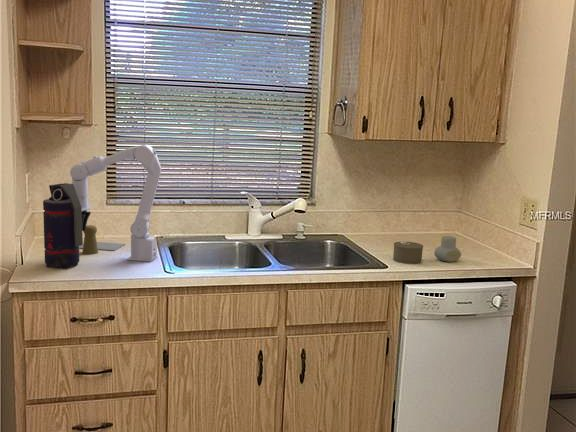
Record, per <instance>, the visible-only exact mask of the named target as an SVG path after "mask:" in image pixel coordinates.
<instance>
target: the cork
mask: <svg viewBox="0 0 576 432" xmlns="http://www.w3.org/2000/svg"><path fill="white" fill-rule="evenodd" d="M97 230H98V228H97V226H95V225H93V224H89V225H87V224H86V229H85V231H82V233H83V234H84V237H83V249H82V254H83V255H96V254H99V250H98V247H97V242H98V241H97V236H96V235H97V234H96V233H97Z"/></svg>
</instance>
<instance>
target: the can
mask: <svg viewBox="0 0 576 432" xmlns="http://www.w3.org/2000/svg"><path fill="white" fill-rule="evenodd" d="M423 248H424V245H423V244H422V243H419V242H412V241H395V242H394V243H393V257H392V261H394V262H397V263H399V264H406V265H418V264H419V265H420V264H421V263H422V258H423Z"/></svg>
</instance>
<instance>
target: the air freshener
mask: <svg viewBox="0 0 576 432" xmlns="http://www.w3.org/2000/svg"><path fill="white" fill-rule="evenodd" d="M440 242H441V243H440V246H437V247H436V248H435V249H434V252H433V254H434V256H435V258H436V259H438V260H440V261H441V262H445V263H454V262H456V261H458V260H459V259H460V258H461V257H462V252H461V250H460V249H458V247H456V246H457V237H455V236H450V235H443V236H442V237H441V241H440Z"/></svg>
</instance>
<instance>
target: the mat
mask: <svg viewBox="0 0 576 432" xmlns="http://www.w3.org/2000/svg"><path fill="white" fill-rule="evenodd" d="M125 245H126V243H122V242H121V243H119V242H103V241H97V247H98V251H107V252H115V251H117V250H119V249H121V248H122V247H124V246H125ZM79 250H83V245H81V246H79Z"/></svg>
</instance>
